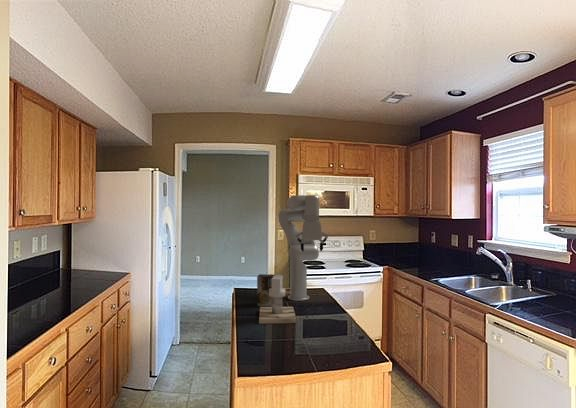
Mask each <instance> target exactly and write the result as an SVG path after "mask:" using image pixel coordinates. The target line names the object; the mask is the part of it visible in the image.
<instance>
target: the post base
mask: <svg viewBox="0 0 576 408" xmlns="http://www.w3.org/2000/svg"><path fill="white" fill-rule="evenodd" d="M258 316H259V318H258V324H263V325H264V324H297V317H296V316H297V315H296V311H295V309H294V306H283V297H272V306H259V315H258Z"/></svg>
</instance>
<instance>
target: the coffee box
mask: <svg viewBox="0 0 576 408" xmlns="http://www.w3.org/2000/svg"><path fill="white" fill-rule="evenodd" d="M274 275H275V274H272V273H271V274H266V273H265V274H262V273H261V274H260V273H259V274H258V275H257V277H256V281H257V282H256V291H257V293H256V296H257V297H256V300H257V302H256V304H257V305H256V306H257V307H272V297H270V296H269V289H270V288H272V278H273V276H274Z"/></svg>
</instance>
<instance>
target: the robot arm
mask: <svg viewBox="0 0 576 408" xmlns="http://www.w3.org/2000/svg"><path fill="white" fill-rule="evenodd" d="M286 206H287V208H283V209H281V210H280V211H279V213H278V215H277V216H278V223H279V225H280V227H281V229H282V230H283V232H284V235H285V237H286V240H287V243H288V245H289V249H288V254H289V262H290V290H289V292H291V294H289V295H288V294H287V295H288V296H287V299H288V300H290V301H294V302H295V301H296V302H298V301H301V302H303V301H307V300H309V299H310V296H309V295H308V294H307V293H308V292H307V287H308V285H307V284H308V283H307V280H308V279H307V277H308V276H307V275H308V274H307V273H308V271H307V266H306V264H305V263H304V262H303V261H316V260H317V259H318V258H319V253H320V252H322V251H323V250H324V244H325V243H326V241H327V239H328V237H329V235H328V234H326V233H324V232H323V230H322V222H321V221H320V197H319V196H318V195H314V194H312V195H311V194H310V195H300V194H299V195H298V194H297V195H290V197H289V198H287V200H286ZM302 222H303V223H302ZM294 223H302V231H299V229H298V227H297V225H295V224H294ZM323 236H324V238H323ZM316 241H319V242H320V243H319V247H318V245H317V242H316Z"/></svg>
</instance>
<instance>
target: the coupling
mask: <svg viewBox="0 0 576 408" xmlns="http://www.w3.org/2000/svg"><path fill="white" fill-rule="evenodd" d="M273 275H274V276H273V278H272V288H270V289H269V296H270V297H282V298H284V297H286V294H287V295H288V294H289V295H290V294H291V292H290V291H287V290H286V288H284V287H283V285H284V282H283V280H284V275H283V274H273Z"/></svg>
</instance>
